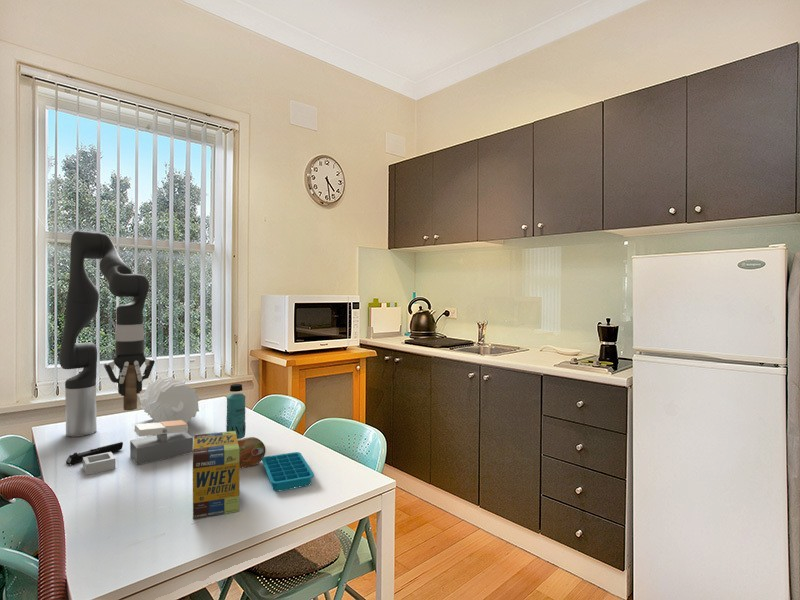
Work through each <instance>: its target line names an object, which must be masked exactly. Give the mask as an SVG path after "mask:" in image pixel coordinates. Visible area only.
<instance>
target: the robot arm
mask: <svg viewBox="0 0 800 600" xmlns="http://www.w3.org/2000/svg"><path fill="white" fill-rule="evenodd" d="M70 239H71V240H70V251H69V252H70V259H69V260H70V261H69V264H70V265H69V278H68V287H67V295H66V301H65V302H66V303H65V319H64V328H63V333H62V337H61V344H60V350H59V357H58V358H59V359H58V360H59V365H60V367H61V369H64V370H75V369H82V370H81V371H80V372H79V373H77V374H76V375H74V376H71V377H69V378H67V379H66V380H65V382H64V386H65V387H64V389H65V391H64V392H65V395H64V397H65V435H66V437H82V436H88V435H91V434H93V433H96V432H97V367H98V349H97V345H96V344H95V343H94V342H91V341H90V342H87V341H86V342H77V339H78V337H79V335H80V334H81V332H82V331H83V329H84V328H85V327H87V326H88V324H89V323H90V322H91V321H93V319H94V317H95V316H96V315H97V313H98V308H99V301H100V300H99V299H100V294H99V291H98V289H97V287H96V285H95V284H94V282H93V281H92V280H91V279H90V276H88V273H87V271H86V268H85V259H89V260H91V259H93V260H100V262H99V268H100V269H99V270H100V272H101V273H102V275H103V276H104V277H105V278H106V279H107V281H108V289H109V292H110V293H111V295H113V296H115V297H118V298H132V299H131V301H130V302H128V303H125V304H121V305H118V306H117V307H116V309H115V310H116V311H115V313H116V314H115V320H116V321H115V331H114V332H115V334H114V335H115V336H114V337H115V339H114V340H115V341H114V342H115V357H114V359H113V361H111V362H108V363H104V364H103V367H104V369H105V371H106V374H107V375H108V378H109V380H110V381H111V382H112V383H115V384H117V392H118V395H120V396H121V397H124V395H125V384H124V379H125V376H126V372H127V368H128V365H132V364H134V365H135V370H136V374H137V395H140V394H141V392H142V391H143V381H144V380H147V379H149V377H150V375H151V373H152V370H153V368H154V365H155V363H156V362H155V360H154V359H151V358H150V359H149V358H146V356H145V344H144V343H145V340H144V339H145V334H144V333H145V331H144V326H143V325H144V324H143V323H144V320H143V319H144V318H143V316H144V315H143V313H144V312H143V311H144V307H145V302H146V299H147V296H148V294H149V291H150V290H149V289H150V281H149V279H148V277H146V276H145V275H144V274H142V273H141V274H139V273H136V274H135V273H133V271H132V269H131V268H130V267H129V265H127V264H126V263H125V261H124V260H123V259H122V258H121V257H120V254H119V252H118V250H117V248H116V246H115V244H114V242H113V241H112V239H111V238H110V236H109V235H108V234H106V233H104V232H97V231H89V230H87V231H85V230H77V231H74V232H73V233H72V235H71V238H70ZM144 364H145V366H146V367H145V369H144V370H143V374H142V372H141V371H142V370H141V367H142V366H143V365H144ZM115 366H116V367H117V368H118V369H119V372H118V377H116V375H115V374H114V371H113V370H114V369H115Z"/></svg>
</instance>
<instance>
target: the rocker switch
mask: <svg viewBox="0 0 800 600" xmlns="http://www.w3.org/2000/svg"><path fill="white" fill-rule="evenodd" d="M188 431H189V425H188V423H187V424H186V423H185V422H184V421H182V420H175V421H164V422H159V423H158V422H149V423H147V422H146V423H137V424H134V432H135V433H136V434H137V436H138V437H150V436H155V435H158V434H168V433H177V432H187V433H188Z"/></svg>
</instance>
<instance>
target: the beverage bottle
mask: <svg viewBox="0 0 800 600" xmlns="http://www.w3.org/2000/svg"><path fill="white" fill-rule="evenodd" d="M242 391H243V384H242V383H232V384H230V387H229V392H232V393H230V394H229V395H228V396H226V419H225V421H226V428H225V431H226V432H229V431H236V435H237V439H243V438H246V429H247V428H246V427H247V426H246V395H245V394H243V393H242Z"/></svg>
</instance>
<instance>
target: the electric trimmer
mask: <svg viewBox="0 0 800 600" xmlns="http://www.w3.org/2000/svg"><path fill="white" fill-rule="evenodd" d="M123 445H124V443H123V441H119V442H115V443H112V444H109V445H104V446H99V447H97V448H93V449H92V448H91V449H89V450H86V451H83V452H79V453H78V452H74V453H73V454H69V455H68V457H67V458H66V460H65V464H67V465H68V466H74V465H75V464H76V463H79V462H83V457H87V456H92V455H97V454H102V453H107V452H112V453H115V452H118V451H120V450H122V449H123Z"/></svg>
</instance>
